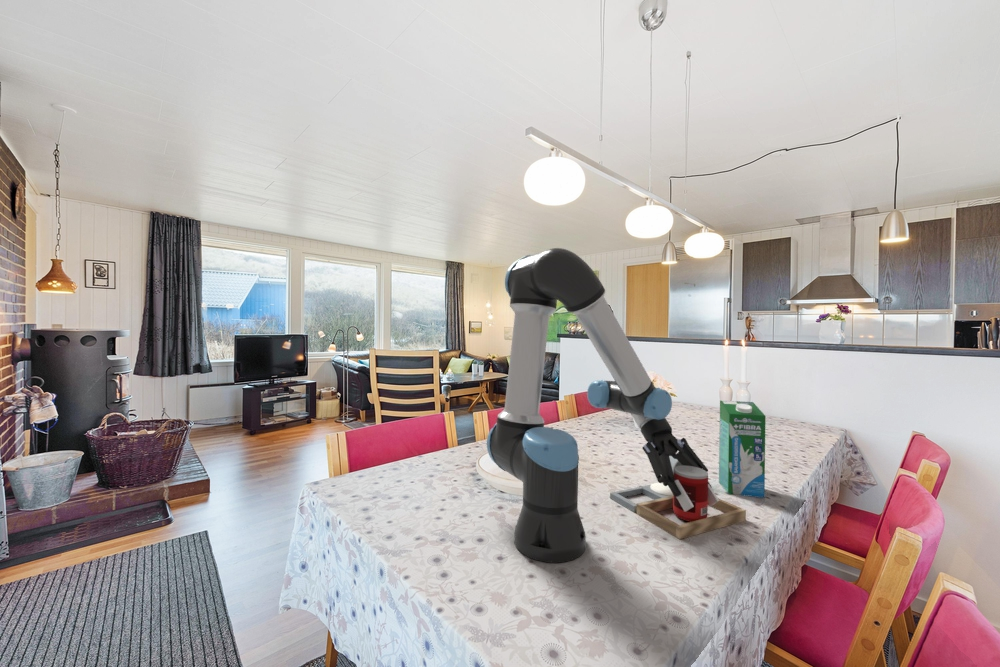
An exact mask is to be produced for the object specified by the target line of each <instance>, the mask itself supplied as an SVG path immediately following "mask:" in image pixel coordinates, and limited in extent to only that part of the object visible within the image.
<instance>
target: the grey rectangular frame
mask: <svg viewBox="0 0 1000 667" xmlns="http://www.w3.org/2000/svg"><path fill="white" fill-rule="evenodd" d="M641 493H643V495H644V494H645V495H644V496H646V497H648V498H650V497H651V498H650V499H651V500H645V502H648V501H652V500H657V499H662V498H666V497H671V496H673V493H672V492H671V490H670V488H669V486H668V485H667V486H664V485H663V483H659V482H655V483H652V484H647V485H643V486H637V487H631V488H627V489H624V490H623V489H622V490H617V491H613V492H610V493H609V499H610V500H612V501H614V502H615V503H616V504H619V505H621V506H622V507H624V508H626V509H628V510H629V511H631V512H633V513H637V504H639V503H643V502H644V501H642V502H637V503H635V502H633V501H631V500H630V499H628V498H627V496H628V497H632V495H633V496H637V494H638V495H642V494H641Z"/></svg>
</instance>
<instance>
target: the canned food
mask: <svg viewBox="0 0 1000 667" xmlns="http://www.w3.org/2000/svg"><path fill="white" fill-rule="evenodd" d="M708 472H709V471H708ZM708 472H706V471H705V470H703V469H701V468H698V467H693V466H684V465H683V466H676V467H675V468H674V478H675V480H679V482H680V484H681V485H682V487H683V489H684V490H685V492H686V494H687V495H688V497H689V499H690V500H691V502H692V504H693V506H694V507H692V508H691V509H689V510H688V511H686V512H684V510H683V508H682V506H681V505H680V503H679V501H678V499H677V498H676V497H675V496H674V495H673V508H672V510H673V513H674V515H675V516H676V517H677V518H679V519H680V520H683V521H686V522H693V521H696V520H700V519H704V518H708V510H709V508H708V507H709V505H708V482H709V473H708ZM675 480H674V481H675Z"/></svg>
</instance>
